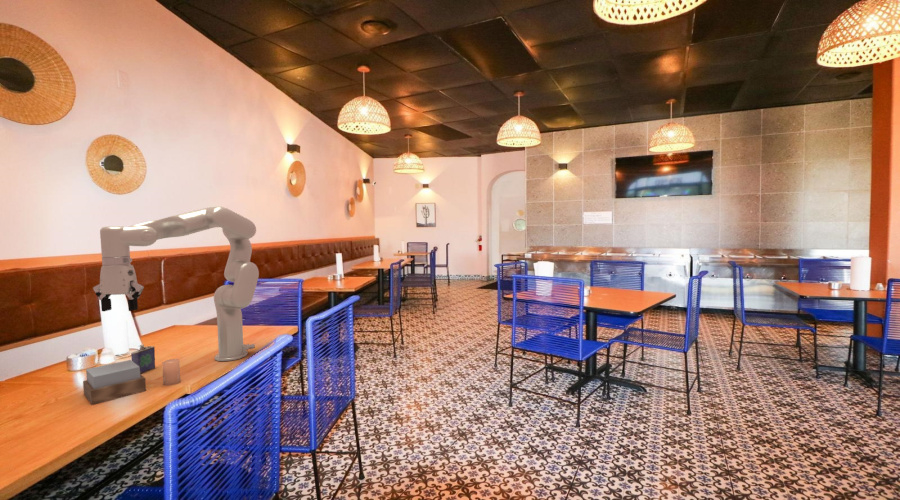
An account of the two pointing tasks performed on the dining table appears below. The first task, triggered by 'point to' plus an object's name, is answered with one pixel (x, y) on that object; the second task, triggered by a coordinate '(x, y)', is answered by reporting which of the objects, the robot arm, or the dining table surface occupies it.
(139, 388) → the bottom block
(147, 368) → the dark panel with clover
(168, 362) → the brown rectangular block
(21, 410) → the dining table surface
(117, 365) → the top block
